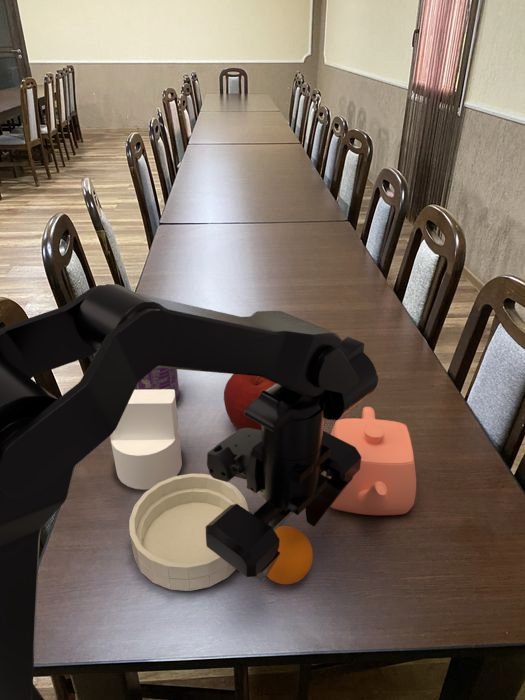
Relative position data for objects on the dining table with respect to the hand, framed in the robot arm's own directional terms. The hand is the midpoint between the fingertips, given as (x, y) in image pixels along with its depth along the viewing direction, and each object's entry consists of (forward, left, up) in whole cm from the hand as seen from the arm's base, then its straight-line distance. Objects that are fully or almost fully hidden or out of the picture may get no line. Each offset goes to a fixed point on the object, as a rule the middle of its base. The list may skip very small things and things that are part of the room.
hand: (286, 549), depth 59 cm
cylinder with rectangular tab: (+1, +25, -4) cm, 25 cm away
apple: (+17, +19, -4) cm, 26 cm away
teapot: (+16, -1, -4) cm, 16 cm away
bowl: (-4, +11, -4) cm, 12 cm away
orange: (0, 0, -4) cm, 4 cm away
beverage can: (+12, +36, -4) cm, 38 cm away
